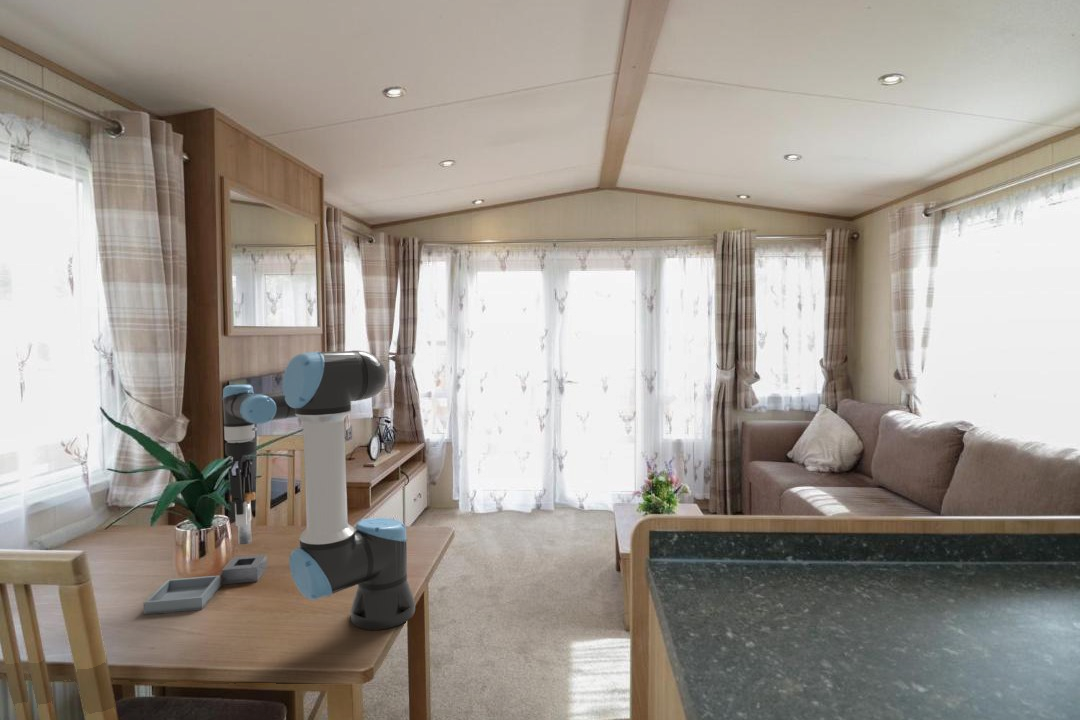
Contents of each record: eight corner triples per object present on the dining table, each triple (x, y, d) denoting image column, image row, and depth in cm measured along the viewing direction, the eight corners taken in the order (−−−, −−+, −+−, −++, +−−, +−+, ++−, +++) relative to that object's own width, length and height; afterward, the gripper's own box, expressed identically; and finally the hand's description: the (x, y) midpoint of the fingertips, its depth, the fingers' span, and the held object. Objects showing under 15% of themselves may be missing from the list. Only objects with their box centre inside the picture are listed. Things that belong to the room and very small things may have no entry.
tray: (202, 609, 141) (201, 597, 141) (144, 614, 138) (143, 602, 138) (221, 585, 153) (220, 575, 153) (168, 590, 151) (167, 579, 151)
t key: (232, 545, 156) (229, 496, 156) (234, 541, 160) (232, 493, 159) (256, 542, 158) (253, 494, 158) (257, 538, 161) (255, 491, 161)
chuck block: (257, 581, 156) (257, 567, 156) (222, 584, 154) (221, 570, 154) (266, 567, 165) (266, 554, 165) (233, 570, 163) (232, 557, 163)
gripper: (245, 444, 150) (249, 531, 151) (263, 434, 166) (266, 512, 167) (214, 446, 149) (218, 534, 150) (235, 435, 165) (238, 514, 166)
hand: (243, 522), depth 159 cm, fingers closed on t key, 3 cm apart
